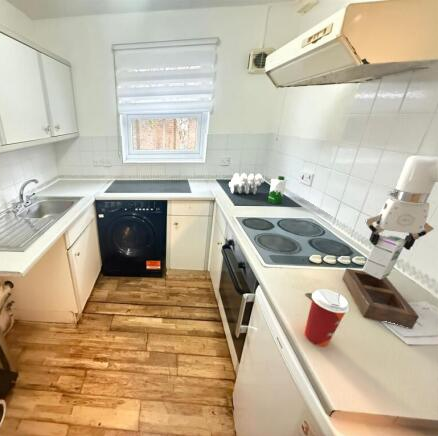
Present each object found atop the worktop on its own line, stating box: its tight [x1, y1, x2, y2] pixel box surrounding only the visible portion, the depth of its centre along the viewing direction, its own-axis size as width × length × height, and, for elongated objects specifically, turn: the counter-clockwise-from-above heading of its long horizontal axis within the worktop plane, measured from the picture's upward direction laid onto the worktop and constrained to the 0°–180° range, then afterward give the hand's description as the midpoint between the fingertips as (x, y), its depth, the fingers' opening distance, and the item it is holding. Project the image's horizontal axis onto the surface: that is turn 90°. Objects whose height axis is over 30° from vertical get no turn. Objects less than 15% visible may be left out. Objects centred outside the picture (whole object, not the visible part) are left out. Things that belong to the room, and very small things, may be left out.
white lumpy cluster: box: [228, 172, 265, 195], centre depth 202 cm, size 18×18×25 cm
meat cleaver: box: [304, 292, 314, 300], centre depth 82 cm, size 12×1×5 cm
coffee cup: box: [304, 288, 350, 347], centre depth 67 cm, size 8×8×15 cm
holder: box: [342, 268, 420, 330], centre depth 83 cm, size 12×22×5 cm, turn 157°
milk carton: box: [266, 175, 288, 206], centre depth 179 cm, size 9×9×20 cm
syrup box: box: [361, 233, 406, 279], centre depth 82 cm, size 6×6×14 cm
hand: (389, 245), depth 81 cm, fingers closed on syrup box, 8 cm apart
